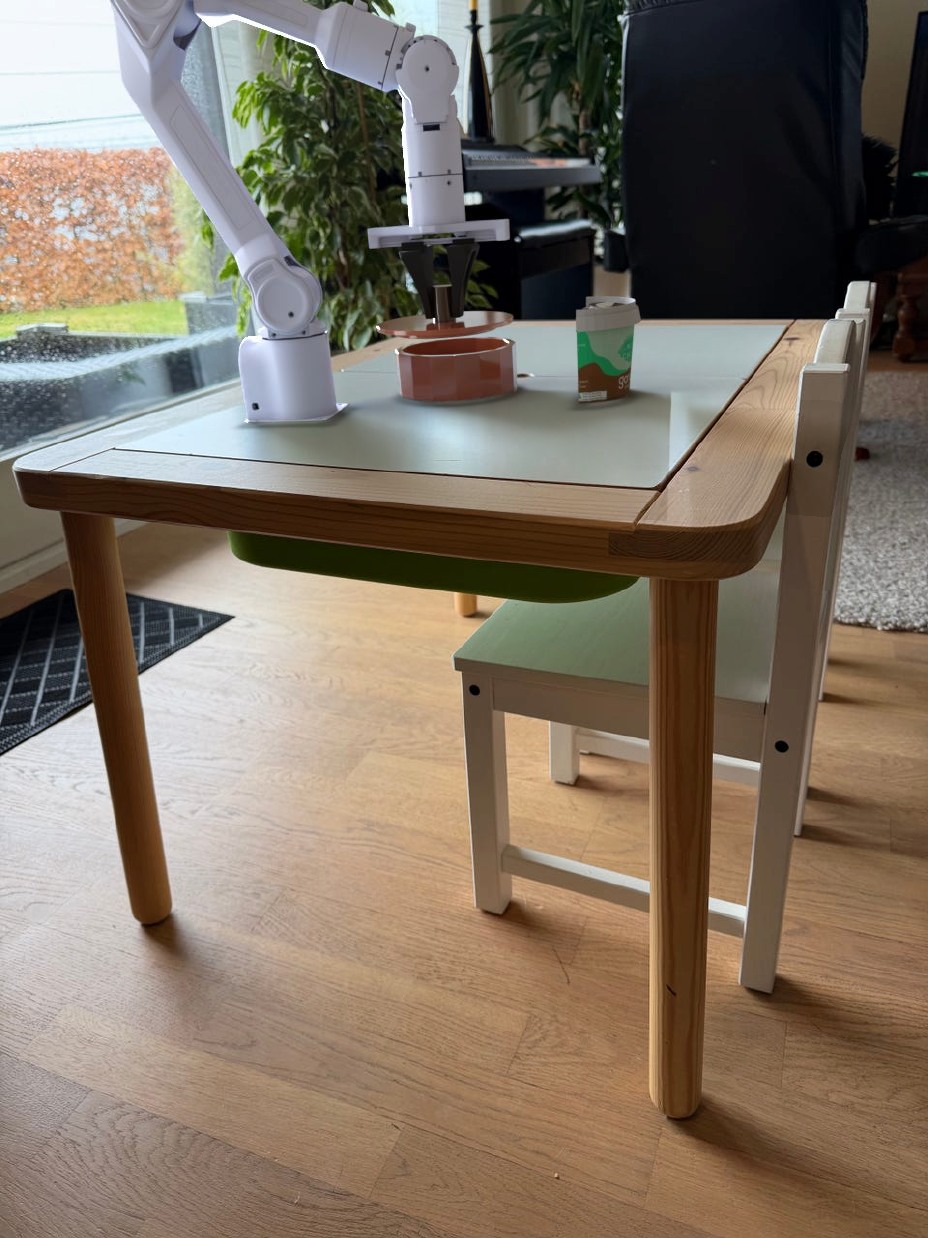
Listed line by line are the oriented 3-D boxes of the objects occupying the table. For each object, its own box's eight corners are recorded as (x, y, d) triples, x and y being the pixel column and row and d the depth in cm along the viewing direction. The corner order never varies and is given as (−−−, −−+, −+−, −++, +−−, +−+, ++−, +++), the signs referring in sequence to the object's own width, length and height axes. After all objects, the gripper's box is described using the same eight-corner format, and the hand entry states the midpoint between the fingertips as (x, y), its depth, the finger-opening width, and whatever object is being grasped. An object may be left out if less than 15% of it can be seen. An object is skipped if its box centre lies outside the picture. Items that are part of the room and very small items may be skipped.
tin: (386, 407, 106) (382, 358, 104) (416, 383, 118) (412, 339, 116) (506, 404, 103) (504, 353, 101) (524, 380, 115) (522, 334, 113)
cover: (359, 344, 96) (354, 296, 94) (398, 324, 109) (394, 282, 107) (500, 338, 93) (498, 289, 91) (523, 318, 106) (522, 275, 104)
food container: (638, 410, 96) (638, 307, 92) (577, 411, 98) (575, 310, 94) (642, 385, 107) (643, 293, 103) (587, 387, 109) (586, 296, 104)
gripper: (353, 182, 93) (368, 325, 99) (498, 170, 90) (505, 319, 96) (374, 181, 99) (387, 316, 105) (510, 170, 96) (516, 310, 102)
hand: (444, 317), depth 101 cm, fingers closed on cover, 2 cm apart
